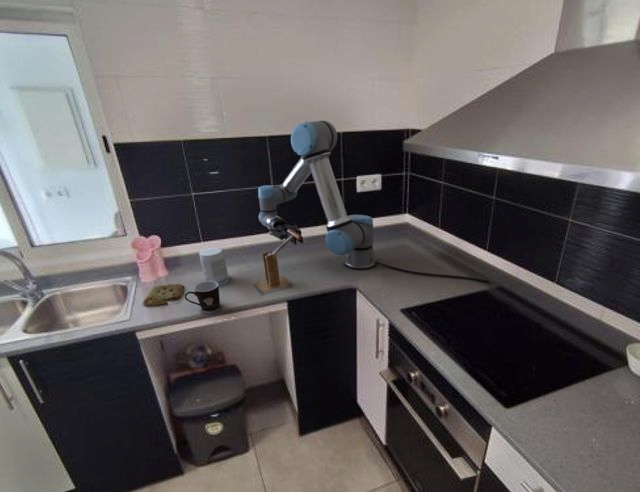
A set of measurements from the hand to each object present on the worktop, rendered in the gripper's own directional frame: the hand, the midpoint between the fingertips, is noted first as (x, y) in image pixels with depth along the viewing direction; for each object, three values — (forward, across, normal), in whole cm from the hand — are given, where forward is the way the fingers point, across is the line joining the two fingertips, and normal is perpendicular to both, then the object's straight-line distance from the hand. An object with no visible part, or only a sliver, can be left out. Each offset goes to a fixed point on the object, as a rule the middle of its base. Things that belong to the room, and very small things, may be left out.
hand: (298, 240), depth 158 cm
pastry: (-16, +53, -19) cm, 59 cm away
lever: (-1, +7, -3) cm, 7 cm away
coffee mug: (+4, +41, -19) cm, 45 cm away
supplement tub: (-18, +32, -19) cm, 41 cm away
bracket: (-1, +13, -18) cm, 22 cm away
